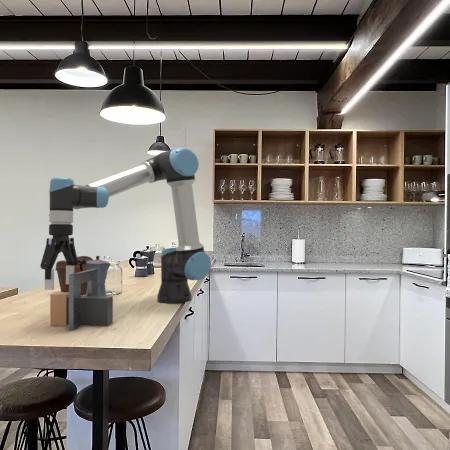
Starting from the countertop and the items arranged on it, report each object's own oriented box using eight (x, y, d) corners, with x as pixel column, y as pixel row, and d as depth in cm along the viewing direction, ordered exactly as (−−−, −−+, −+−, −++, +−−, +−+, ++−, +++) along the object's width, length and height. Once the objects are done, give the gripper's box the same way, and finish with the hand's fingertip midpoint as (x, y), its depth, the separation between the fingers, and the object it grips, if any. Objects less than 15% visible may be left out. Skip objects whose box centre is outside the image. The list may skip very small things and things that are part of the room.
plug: (113, 322, 140) (113, 293, 140) (106, 326, 135) (106, 295, 135) (58, 321, 142) (58, 292, 142) (50, 324, 137) (50, 294, 137)
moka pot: (105, 304, 172) (105, 256, 172) (72, 303, 175) (72, 256, 175) (116, 300, 181) (116, 255, 182) (84, 299, 185) (84, 254, 185)
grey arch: (97, 317, 147) (97, 268, 147) (73, 330, 129) (73, 274, 129) (93, 317, 147) (93, 268, 147) (68, 330, 129) (68, 274, 129)
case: (55, 297, 188) (56, 258, 189) (54, 291, 207) (55, 255, 207) (96, 295, 195) (96, 257, 196) (91, 290, 214) (92, 255, 214)
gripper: (68, 224, 152) (67, 281, 152) (29, 222, 127) (27, 291, 127) (88, 224, 151) (87, 282, 151) (52, 223, 126) (50, 292, 126)
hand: (60, 286), depth 139 cm, fingers open, 13 cm apart
